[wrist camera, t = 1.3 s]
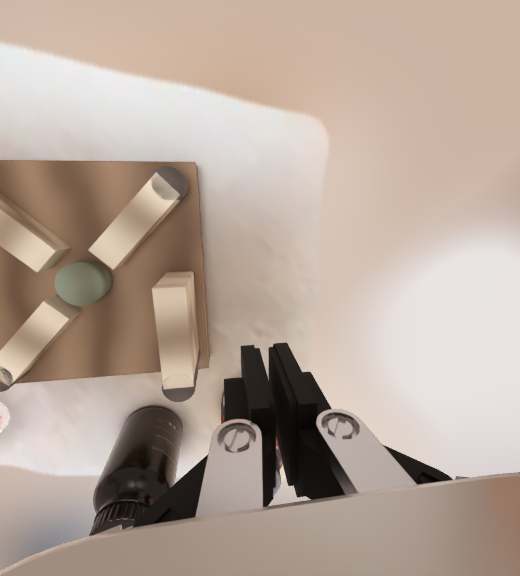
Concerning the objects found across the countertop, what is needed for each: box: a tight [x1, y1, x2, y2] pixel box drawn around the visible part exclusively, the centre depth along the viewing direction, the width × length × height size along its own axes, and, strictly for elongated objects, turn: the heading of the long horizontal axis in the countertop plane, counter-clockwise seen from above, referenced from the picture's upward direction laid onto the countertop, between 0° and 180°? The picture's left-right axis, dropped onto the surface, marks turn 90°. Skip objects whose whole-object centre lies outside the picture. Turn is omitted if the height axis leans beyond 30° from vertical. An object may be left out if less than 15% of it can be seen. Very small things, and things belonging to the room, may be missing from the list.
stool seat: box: [0, 160, 210, 392], centre depth 26 cm, size 20×20×5 cm
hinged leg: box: [152, 271, 200, 402], centre depth 25 cm, size 10×3×6 cm, turn 1°
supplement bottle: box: [89, 407, 182, 536], centre depth 27 cm, size 7×7×12 cm
